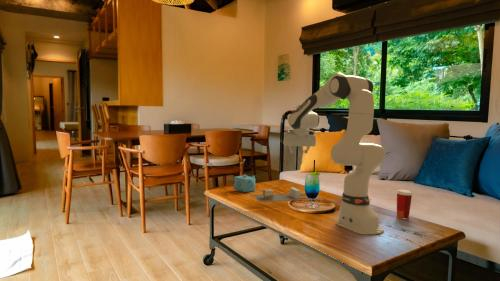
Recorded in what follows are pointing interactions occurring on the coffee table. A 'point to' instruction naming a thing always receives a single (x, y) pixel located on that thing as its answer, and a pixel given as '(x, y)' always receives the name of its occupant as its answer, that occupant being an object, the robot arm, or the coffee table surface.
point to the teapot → (244, 183)
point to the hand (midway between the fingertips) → (298, 153)
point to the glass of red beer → (403, 203)
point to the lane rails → (286, 200)
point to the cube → (268, 193)
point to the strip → (293, 195)
